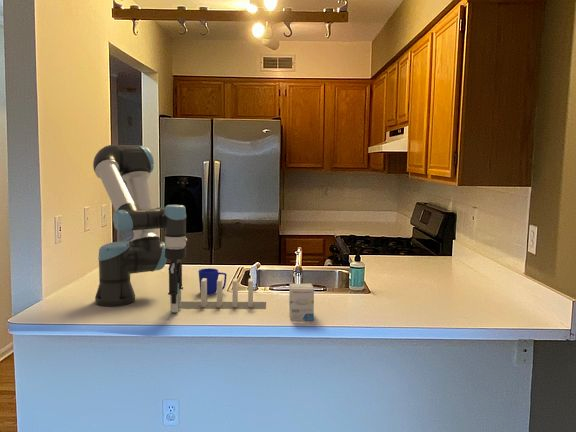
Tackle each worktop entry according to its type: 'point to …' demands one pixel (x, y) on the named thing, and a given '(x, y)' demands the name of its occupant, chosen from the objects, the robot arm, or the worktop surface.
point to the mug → (211, 279)
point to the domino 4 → (250, 293)
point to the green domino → (178, 298)
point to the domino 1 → (204, 292)
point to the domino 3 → (235, 292)
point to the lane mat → (224, 305)
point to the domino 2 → (219, 292)
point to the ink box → (301, 302)
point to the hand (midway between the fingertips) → (175, 309)
